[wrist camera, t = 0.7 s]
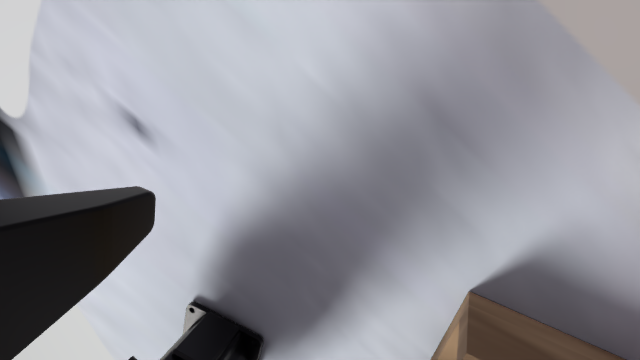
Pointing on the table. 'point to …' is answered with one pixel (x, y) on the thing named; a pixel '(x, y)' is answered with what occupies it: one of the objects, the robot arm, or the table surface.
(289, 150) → the table surface
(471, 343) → the walnut cubby
